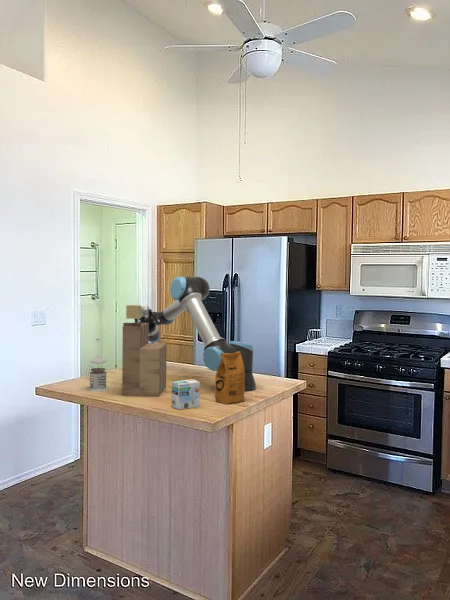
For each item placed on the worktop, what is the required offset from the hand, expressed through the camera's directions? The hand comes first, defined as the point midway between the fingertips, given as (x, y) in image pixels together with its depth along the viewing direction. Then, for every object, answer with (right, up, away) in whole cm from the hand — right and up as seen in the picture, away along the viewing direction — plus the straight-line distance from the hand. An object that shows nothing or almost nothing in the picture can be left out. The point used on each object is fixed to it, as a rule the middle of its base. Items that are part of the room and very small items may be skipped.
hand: (141, 307), depth 258 cm
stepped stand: (+3, -40, -10) cm, 42 cm away
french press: (-20, -40, -7) cm, 46 cm away
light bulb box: (+25, -42, -37) cm, 61 cm away
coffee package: (+44, -42, -26) cm, 66 cm away
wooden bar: (0, -4, -5) cm, 6 cm away
